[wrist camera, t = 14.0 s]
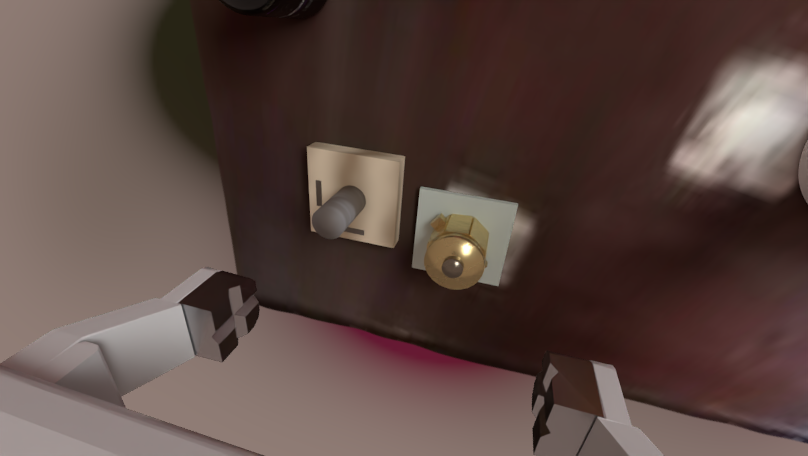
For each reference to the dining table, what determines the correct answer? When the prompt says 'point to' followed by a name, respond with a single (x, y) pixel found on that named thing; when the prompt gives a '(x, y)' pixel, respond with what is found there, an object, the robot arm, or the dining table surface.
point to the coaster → (485, 210)
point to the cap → (456, 251)
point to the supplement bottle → (275, 7)
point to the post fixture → (355, 193)
